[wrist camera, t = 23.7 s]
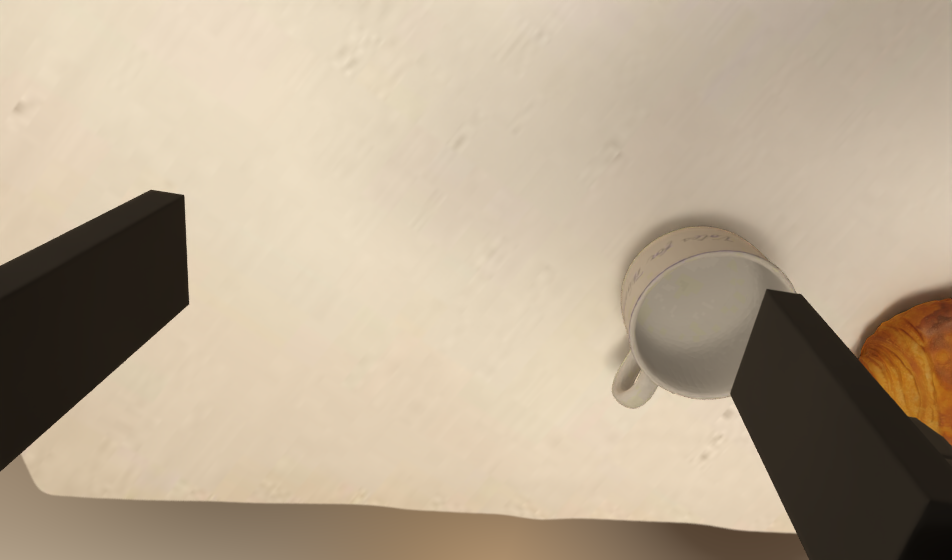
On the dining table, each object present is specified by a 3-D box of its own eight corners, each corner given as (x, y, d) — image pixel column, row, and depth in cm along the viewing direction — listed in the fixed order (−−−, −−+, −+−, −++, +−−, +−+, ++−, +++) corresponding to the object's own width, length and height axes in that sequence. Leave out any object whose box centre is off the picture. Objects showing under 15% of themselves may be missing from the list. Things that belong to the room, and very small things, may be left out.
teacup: (709, 181, 46) (741, 217, 39) (794, 291, 49) (839, 343, 41) (553, 297, 51) (555, 348, 43) (638, 391, 53) (654, 454, 46)
